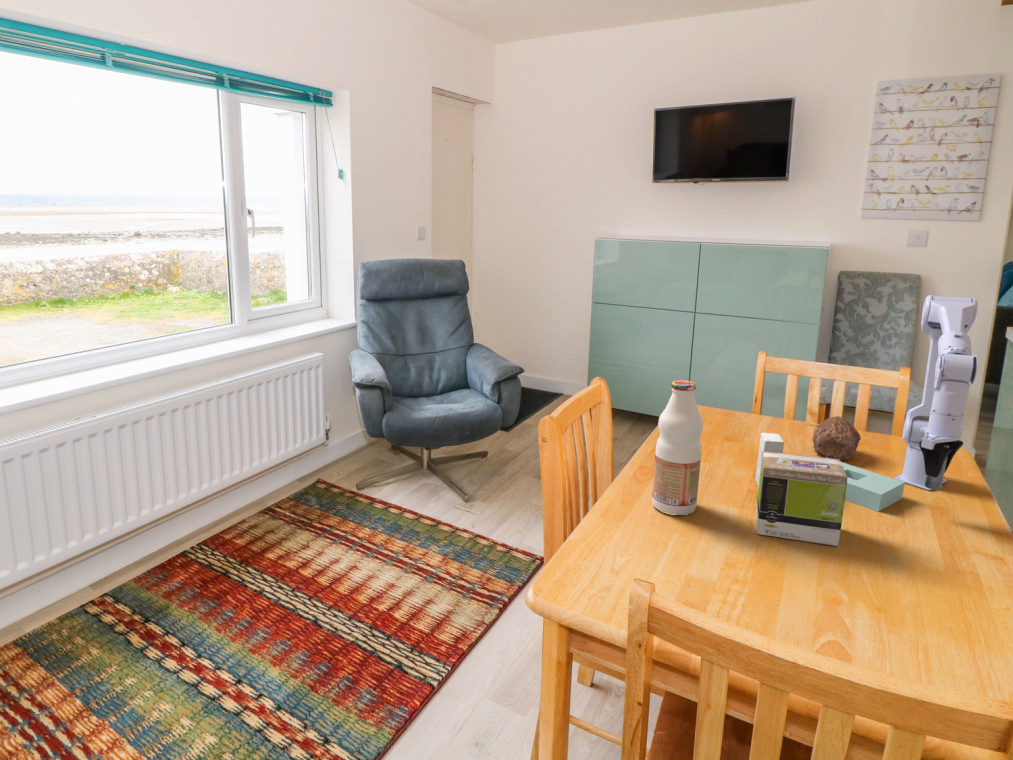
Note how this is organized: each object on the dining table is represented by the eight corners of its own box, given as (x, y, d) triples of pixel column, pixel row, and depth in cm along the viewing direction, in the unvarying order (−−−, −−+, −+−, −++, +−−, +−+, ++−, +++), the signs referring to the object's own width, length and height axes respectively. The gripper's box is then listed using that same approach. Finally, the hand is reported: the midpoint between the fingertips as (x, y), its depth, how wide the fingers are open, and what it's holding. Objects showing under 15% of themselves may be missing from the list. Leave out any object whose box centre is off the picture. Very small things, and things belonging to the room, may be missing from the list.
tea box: (832, 525, 135) (842, 458, 132) (838, 548, 126) (849, 477, 122) (754, 513, 140) (762, 448, 136) (755, 535, 131) (763, 466, 127)
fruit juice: (657, 517, 138) (667, 389, 130) (646, 497, 147) (655, 376, 140) (701, 517, 138) (714, 389, 131) (688, 497, 147) (699, 376, 140)
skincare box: (778, 491, 151) (784, 442, 148) (758, 489, 152) (764, 440, 149) (773, 480, 157) (779, 433, 153) (754, 479, 157) (760, 432, 154)
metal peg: (928, 482, 140) (936, 440, 137) (943, 487, 138) (952, 445, 135) (921, 486, 138) (929, 443, 136) (937, 491, 136) (946, 448, 133)
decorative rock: (815, 443, 182) (820, 408, 179) (860, 452, 175) (866, 416, 173) (804, 457, 171) (809, 421, 169) (852, 467, 165) (858, 430, 162)
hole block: (824, 472, 162) (826, 457, 161) (901, 498, 148) (904, 482, 147) (799, 483, 155) (802, 467, 154) (878, 511, 141) (881, 494, 140)
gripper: (940, 401, 141) (929, 460, 144) (910, 413, 133) (898, 475, 136) (978, 409, 135) (965, 470, 139) (949, 422, 127) (936, 487, 131)
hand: (935, 473), depth 137 cm, fingers closed on metal peg, 3 cm apart
